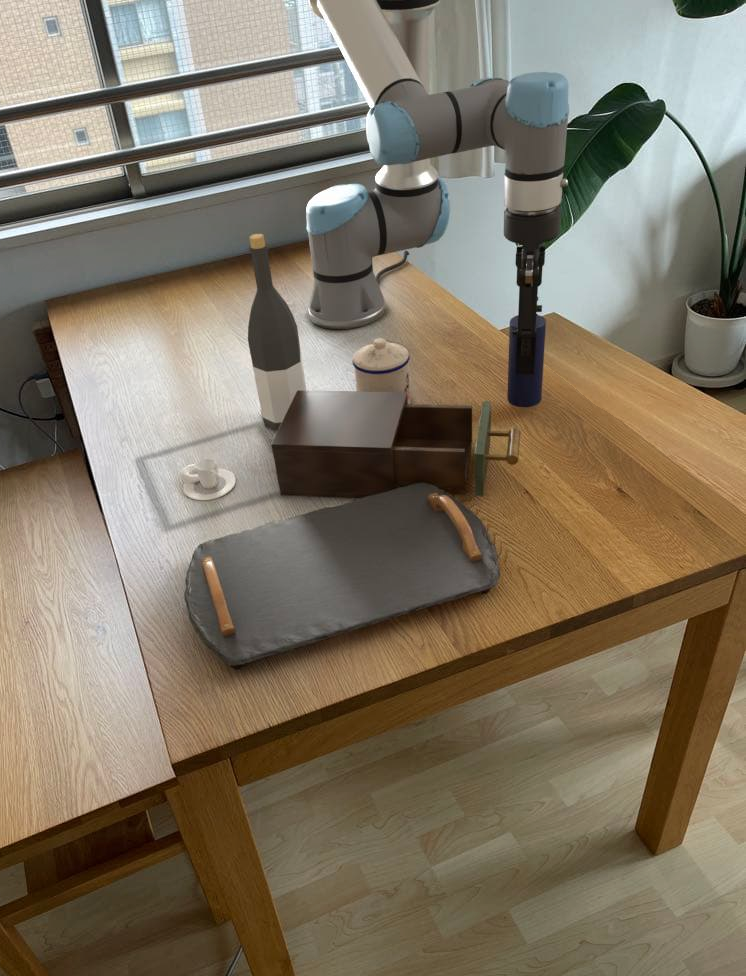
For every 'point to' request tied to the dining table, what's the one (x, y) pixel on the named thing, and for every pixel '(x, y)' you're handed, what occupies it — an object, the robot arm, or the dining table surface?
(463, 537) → the serving tray
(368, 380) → the teacup with lid
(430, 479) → the drawer
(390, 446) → the cabinet
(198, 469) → the teacup and saucer
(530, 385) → the navy cylinder
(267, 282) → the wine bottle
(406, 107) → the robot arm
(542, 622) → the dining table surface
